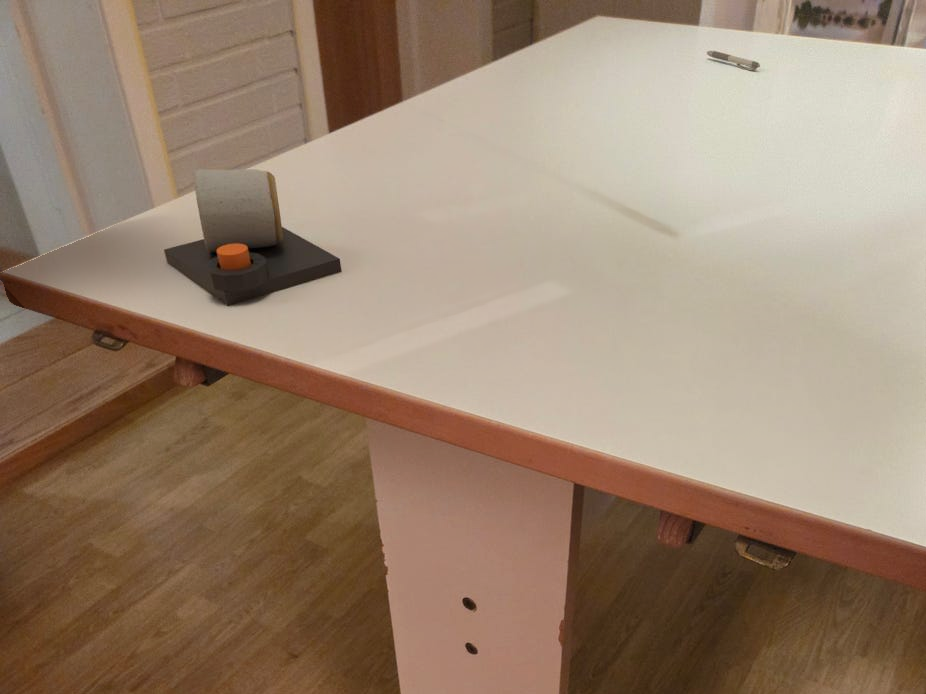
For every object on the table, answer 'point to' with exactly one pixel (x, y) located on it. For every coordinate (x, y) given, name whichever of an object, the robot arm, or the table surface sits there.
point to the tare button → (233, 257)
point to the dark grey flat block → (254, 268)
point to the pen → (735, 60)
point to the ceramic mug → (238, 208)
